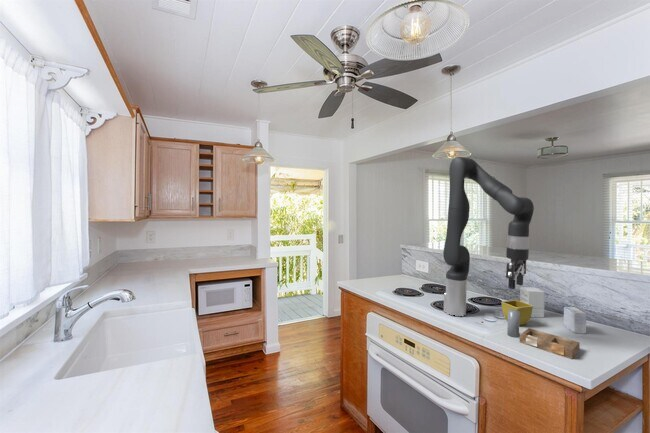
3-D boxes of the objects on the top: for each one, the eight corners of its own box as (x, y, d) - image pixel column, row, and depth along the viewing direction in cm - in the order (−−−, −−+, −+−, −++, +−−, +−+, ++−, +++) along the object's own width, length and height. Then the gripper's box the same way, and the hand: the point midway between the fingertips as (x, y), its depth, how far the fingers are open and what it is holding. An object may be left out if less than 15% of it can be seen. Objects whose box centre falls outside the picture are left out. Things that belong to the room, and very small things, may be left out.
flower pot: (517, 328, 129) (517, 307, 129) (500, 320, 138) (500, 301, 137) (532, 326, 132) (533, 305, 131) (515, 318, 140) (516, 299, 140)
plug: (505, 334, 123) (506, 310, 122) (509, 332, 125) (510, 308, 125) (516, 338, 119) (517, 313, 119) (520, 335, 122) (521, 311, 122)
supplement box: (535, 312, 149) (535, 287, 148) (544, 318, 141) (545, 291, 141) (519, 311, 150) (520, 286, 149) (527, 317, 142) (528, 290, 142)
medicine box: (586, 334, 124) (587, 313, 124) (573, 333, 125) (574, 312, 124) (574, 326, 132) (575, 307, 131) (562, 325, 132) (563, 306, 132)
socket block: (519, 342, 116) (519, 334, 116) (528, 335, 122) (529, 327, 122) (571, 359, 103) (571, 350, 103) (579, 350, 110) (579, 341, 110)
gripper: (513, 244, 128) (512, 282, 129) (500, 247, 119) (498, 287, 120) (534, 246, 122) (532, 286, 123) (521, 249, 113) (519, 292, 114)
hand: (515, 286), depth 121 cm, fingers open, 8 cm apart
